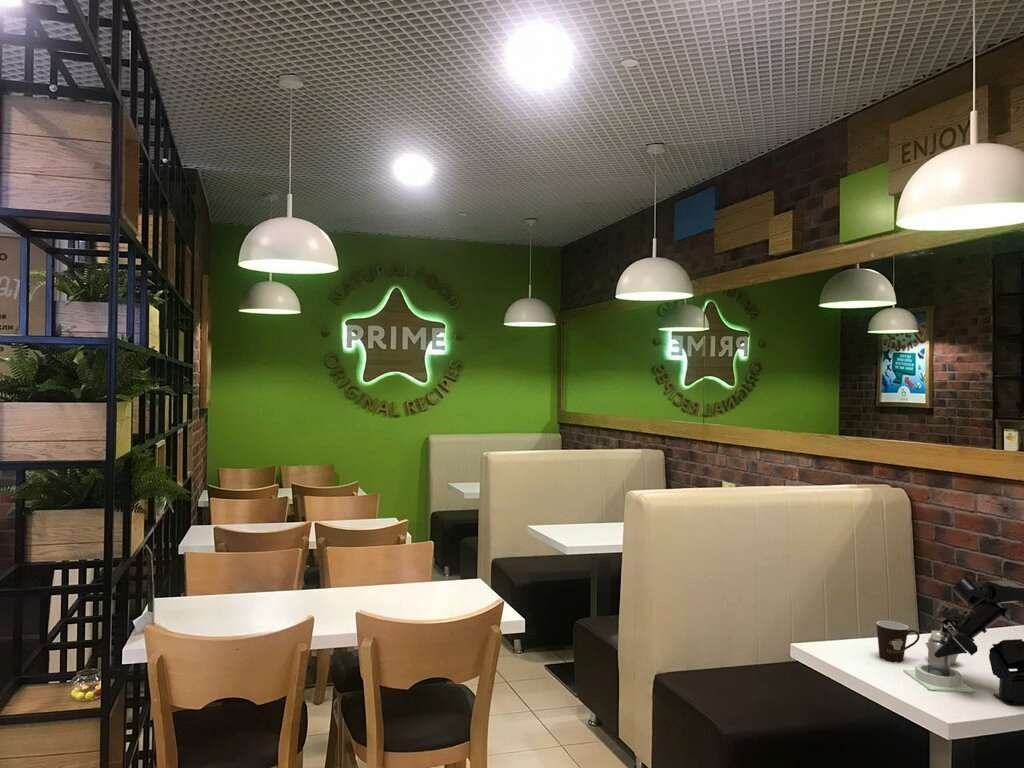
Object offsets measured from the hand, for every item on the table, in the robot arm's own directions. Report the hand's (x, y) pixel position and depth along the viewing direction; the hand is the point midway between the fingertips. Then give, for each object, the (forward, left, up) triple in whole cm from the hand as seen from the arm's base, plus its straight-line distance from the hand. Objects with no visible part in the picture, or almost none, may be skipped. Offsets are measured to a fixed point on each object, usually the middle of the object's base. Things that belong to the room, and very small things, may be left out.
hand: (933, 653), depth 214 cm
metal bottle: (-1, -1, -7) cm, 7 cm away
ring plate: (0, -1, -8) cm, 8 cm away
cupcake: (+16, -11, -8) cm, 21 cm away
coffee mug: (+17, +2, -8) cm, 18 cm away
